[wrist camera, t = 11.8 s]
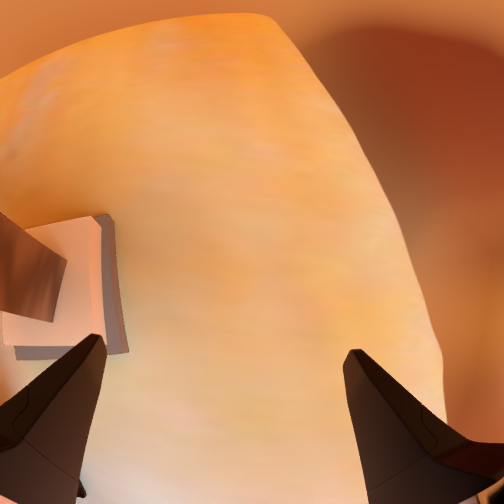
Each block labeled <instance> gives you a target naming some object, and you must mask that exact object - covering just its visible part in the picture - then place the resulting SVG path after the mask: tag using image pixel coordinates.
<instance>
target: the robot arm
mask: <svg viewBox="0 0 504 504" xmlns="http://www.w3.org/2000/svg"><path fill="white" fill-rule="evenodd" d="M106 358H107V349H106V346H105V343H104V340H103V337H102V336H101V335H100V334H94V333H91V334H89V335H88V336H87V337H85V338H84V339H83V340H82V341H80V342H79V343H78V344H77V345H75V346H74V347H73V348H72V349H70V350H69V351H68V352H67V353H65V354H64V355H63V356H62V357H61V358H59V359H58V360H57V361H56V362H54V363H53V364H52V365H51V366H50V367H48V368H47V369H46V370H45V371H43V372H42V373H41V374H40V375H39V376H37V377H36V378H35V379H34V380H33V381H31V382H30V383H29V384H28V385H27V386H25V387H24V388H23V389H22V390H21V391H20V392H18V393H17V394H16V395H15V396H13V397H12V398H11V399H9V400H8V401H7V402H5V403H4V404H2V405H1V406H0V504H75V503H76V497H80V498H85V497H86V495H87V494H86V492H85V490H84V488H83V486H82V483H81V481H80V479H79V477H80V472H81V467H82V462H83V457H84V452H85V447H86V443H87V439H88V435H89V430H90V426H91V423H92V419H93V415H94V411H95V408H96V404H97V400H98V397H99V393H100V389H101V384H102V379H103V373H104V368H105V363H106ZM343 373H344V381H345V388H346V396H347V403H348V407H349V411H350V416H351V420H352V424H353V428H354V432H355V437H356V441H357V446H358V450H359V455H360V460H361V464H362V469H363V474H364V479H365V485H366V490H367V496H368V502H369V504H504V443H482V442H474V441H471V440H468V439H466V438H465V437H463V436H462V435H461V434H459V433H458V432H456V431H455V430H454V429H452V428H451V427H450V426H448V425H447V424H446V423H444V422H443V421H442V420H440V419H439V418H438V417H437V416H435V415H434V414H433V413H432V412H431V411H430V410H428V409H427V408H426V407H425V406H424V405H422V403H421V402H419V401H418V400H417V399H416V398H415V397H414V396H413V395H412V394H411V393H409V392H408V391H407V390H406V389H405V388H404V387H403V386H402V385H401V384H400V383H398V382H397V381H396V380H395V379H394V378H393V377H392V376H391V375H390V374H388V373H387V372H386V371H385V370H384V369H383V368H382V367H381V366H380V365H378V364H377V363H376V362H375V361H374V360H373V359H372V358H371V357H370V356H368V355H367V354H366V353H365V352H364V351H363V350H361V349H352V350H350V351H349V353H348V355H347V357H346V359H345V361H344V363H343ZM81 493H82V494H81Z"/></svg>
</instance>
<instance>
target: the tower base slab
mask: <svg viewBox="0 0 504 504" xmlns="http://www.w3.org/2000/svg"><path fill="white" fill-rule="evenodd" d="M93 219H94V220H95V221H96V222H97V223H98V224H99V225H100V226H101V227H102V229H101V271H102V294H103V308H104V320H105V329H106V338H107V345H105V346H106V349H107V355H113V354H122V353H128V352H129V348H128V343H127V337H126V332H125V326H124V319H123V313H122V306H121V298H120V290H119V282H118V272H117V260H116V247H115V228H114V221H113V220H112V218H111V217H110V216H109V215H108V214H105V215H101V216H96V217H93ZM14 347H15V354H16V360H48V359H59V358H61V357H62V356H63V355H64V354H65V353H67V352H68V351H69V350H70V349H72V348H73V347H74V346H15V345H14Z"/></svg>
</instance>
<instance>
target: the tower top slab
mask: <svg viewBox="0 0 504 504" xmlns="http://www.w3.org/2000/svg"><path fill="white" fill-rule="evenodd" d="M101 229H102V227H101V226H100V225H99V224H98V223H97V222H96V221H95V220H94V219H93V217H92V216H87V217H81V218H76V219H71V220H66V221H61V222H56V223H52V224H47V225H42V226H38V227H33V228H29V229H25V230H24V231H26V232H27V233H28V234H30V235H31V236H32V237H34V238H35V239H37V240H38V241H39V242H41V243H42V244H44V245H45V246H47V247H48V248H49V249H51V250H52V251H54V252H55V253H57V254H58V255H60V256H61V257H63V258H64V259H66V260H67V264H66V268H65V271H64V275H63V279H62V283H61V287H60V291H59V296H58V300H57V305H56V309H55V314H54V320H53V323H51V322H46V321H41V320H37V319H32V318H28V317H24V316H19V315H15V314H11V313H8V312H4V311H2V328H3V341H4V345H15V346H75V345H77V344H78V343H79V342H80V341H82V340H83V339H84V338H85V337H87V336H88V335H89V334H91V333H94V334H100V335H101V336H102V337H103V340H104V343H105V345H107V338H106V329H105V320H104V308H103V294H102V271H101Z"/></svg>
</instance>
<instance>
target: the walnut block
mask: <svg viewBox="0 0 504 504" xmlns="http://www.w3.org/2000/svg"><path fill="white" fill-rule="evenodd" d="M66 264H67V260H66V259H64V258H63V257H61V256H60V255H58V254H57V253H55V252H54V251H52V250H51V249H49V248H48V247H47V246H45V245H44V244H42V243H41V242H39V241H38V240H37V239H35V238H34V237H32V236H31V235H30V234H28V233H27V232H26V231H24V230H23V229H21V228H20V227H19V226H17V225H16V224H15V223H14V222H12V221H11V220H10V219H8V218H7V217H6V216H5V215H3V214H2V213H1V212H0V311H4V312H8V313H11V314H15V315H19V316H24V317H28V318H32V319H37V320H41V321H46V322H51V323H53V320H54V314H55V309H56V305H57V300H58V296H59V291H60V287H61V283H62V279H63V275H64V271H65V268H66Z"/></svg>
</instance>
